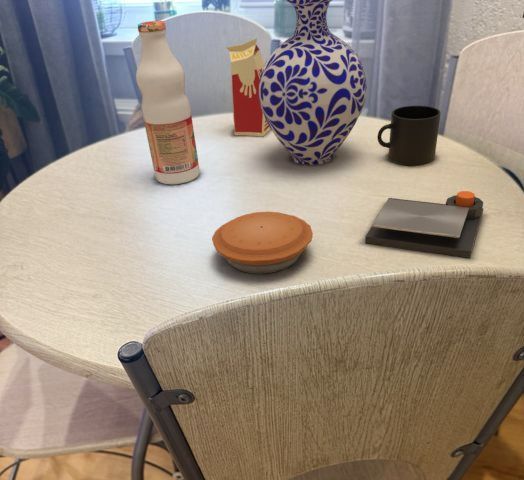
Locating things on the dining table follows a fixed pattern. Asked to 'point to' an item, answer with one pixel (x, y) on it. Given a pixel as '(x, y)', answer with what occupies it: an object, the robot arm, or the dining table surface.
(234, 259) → the pie
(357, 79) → the vase
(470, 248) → the scale
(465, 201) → the tare button
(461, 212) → the scale pan
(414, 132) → the mug
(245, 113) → the milk carton
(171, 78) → the fruit juice
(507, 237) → the dining table surface
